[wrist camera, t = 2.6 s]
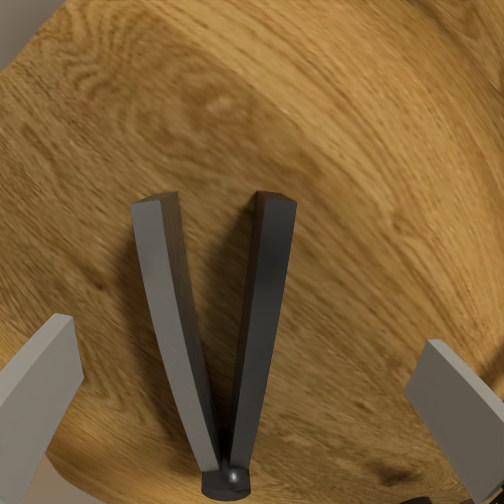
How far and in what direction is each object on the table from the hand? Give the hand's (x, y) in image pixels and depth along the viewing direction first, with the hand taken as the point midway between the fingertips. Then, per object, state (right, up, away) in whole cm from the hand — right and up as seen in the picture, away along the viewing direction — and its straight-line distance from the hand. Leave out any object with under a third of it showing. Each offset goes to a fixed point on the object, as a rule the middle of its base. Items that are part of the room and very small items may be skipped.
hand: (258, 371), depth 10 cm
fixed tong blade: (-2, -4, +12) cm, 13 cm away
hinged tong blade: (-5, -2, +11) cm, 12 cm away
